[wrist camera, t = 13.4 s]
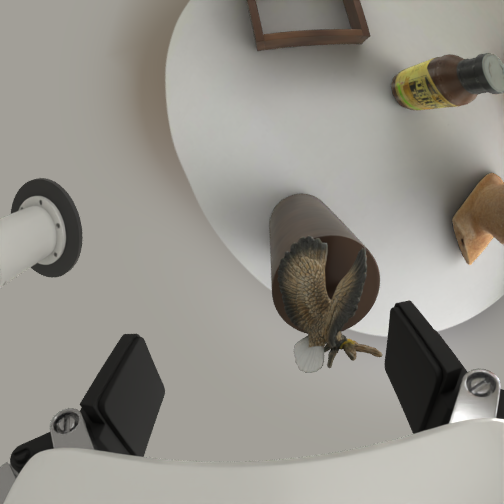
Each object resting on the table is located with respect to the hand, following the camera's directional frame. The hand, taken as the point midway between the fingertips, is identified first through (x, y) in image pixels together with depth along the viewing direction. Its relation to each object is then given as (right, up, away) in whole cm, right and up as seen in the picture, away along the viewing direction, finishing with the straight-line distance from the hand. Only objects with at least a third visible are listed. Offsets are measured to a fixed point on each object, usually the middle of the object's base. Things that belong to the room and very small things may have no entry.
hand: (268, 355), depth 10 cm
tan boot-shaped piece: (+37, +11, +29) cm, 49 cm away
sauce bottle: (+22, +27, +24) cm, 43 cm away
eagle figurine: (+5, +1, +13) cm, 14 cm away
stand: (+6, +8, +32) cm, 33 cm away
